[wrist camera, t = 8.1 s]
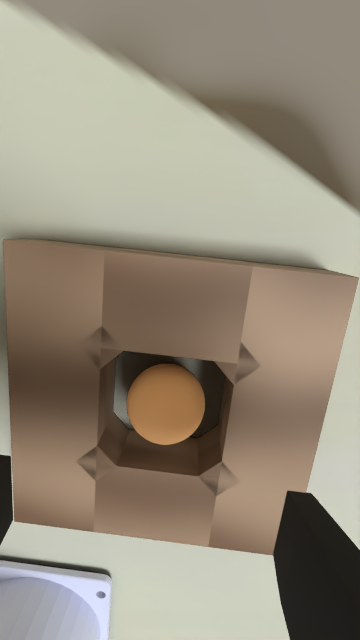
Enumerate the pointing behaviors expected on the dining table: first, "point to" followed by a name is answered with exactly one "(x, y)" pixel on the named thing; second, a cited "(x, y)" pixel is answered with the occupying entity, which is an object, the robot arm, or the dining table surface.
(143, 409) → the ball
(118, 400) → the dining table surface
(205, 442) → the hole plate
